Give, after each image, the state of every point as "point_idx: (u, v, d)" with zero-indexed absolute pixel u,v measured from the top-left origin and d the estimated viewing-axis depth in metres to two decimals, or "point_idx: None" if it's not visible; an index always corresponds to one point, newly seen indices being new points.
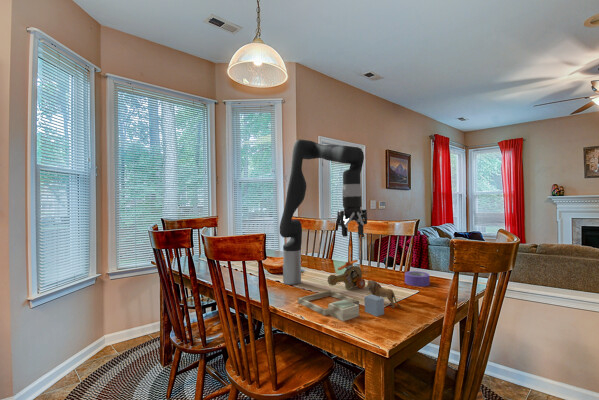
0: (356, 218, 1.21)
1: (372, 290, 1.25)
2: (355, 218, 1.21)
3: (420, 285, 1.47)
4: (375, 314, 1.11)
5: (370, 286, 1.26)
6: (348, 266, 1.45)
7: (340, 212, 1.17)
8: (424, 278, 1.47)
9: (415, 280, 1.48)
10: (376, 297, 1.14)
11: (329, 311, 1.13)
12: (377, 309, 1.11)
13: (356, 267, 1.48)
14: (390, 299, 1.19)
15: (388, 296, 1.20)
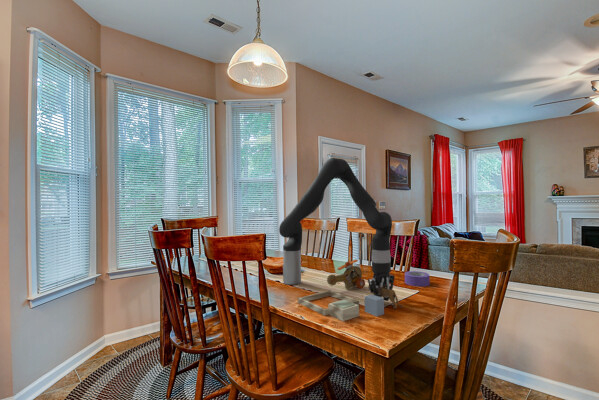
0: (384, 282, 1.23)
1: None
2: (383, 282, 1.23)
3: (420, 285, 1.47)
4: (375, 314, 1.11)
5: None
6: (348, 266, 1.45)
7: (371, 282, 1.20)
8: (424, 278, 1.47)
9: (415, 280, 1.48)
10: (376, 297, 1.14)
11: (329, 311, 1.13)
12: (377, 309, 1.11)
13: (356, 267, 1.48)
14: (392, 299, 1.19)
15: (390, 296, 1.19)
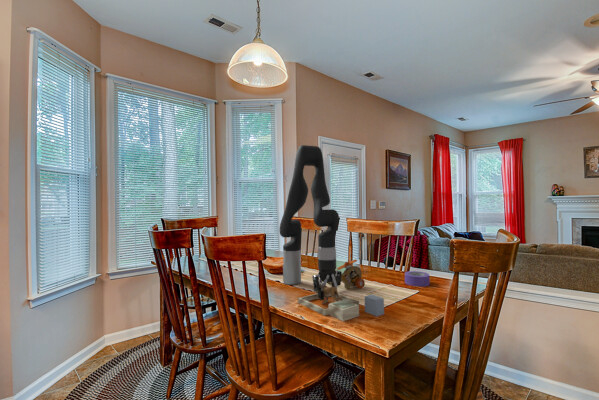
0: (330, 279, 1.24)
1: None
2: (329, 279, 1.24)
3: (420, 285, 1.47)
4: (375, 314, 1.11)
5: None
6: (347, 266, 1.45)
7: (315, 277, 1.20)
8: (424, 278, 1.47)
9: (415, 280, 1.48)
10: (376, 297, 1.14)
11: (329, 311, 1.13)
12: (377, 309, 1.11)
13: (355, 267, 1.48)
14: (333, 296, 1.20)
15: (331, 293, 1.20)
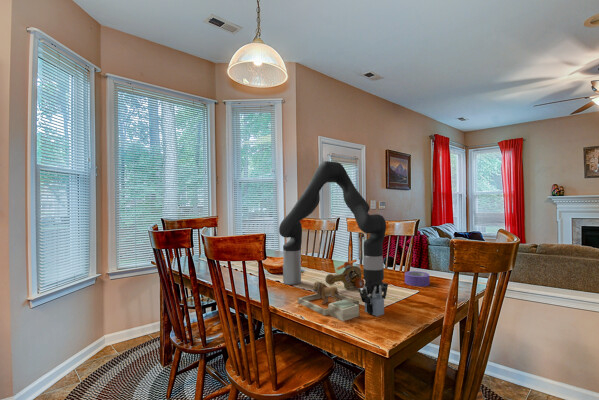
0: (376, 291, 1.13)
1: (318, 291, 1.26)
2: (375, 291, 1.13)
3: (420, 285, 1.47)
4: (375, 314, 1.11)
5: (316, 287, 1.26)
6: (347, 266, 1.45)
7: (362, 291, 1.10)
8: (424, 278, 1.47)
9: (415, 280, 1.48)
10: (376, 297, 1.14)
11: (329, 311, 1.13)
12: (377, 308, 1.11)
13: (355, 267, 1.48)
14: (334, 296, 1.20)
15: (332, 293, 1.20)
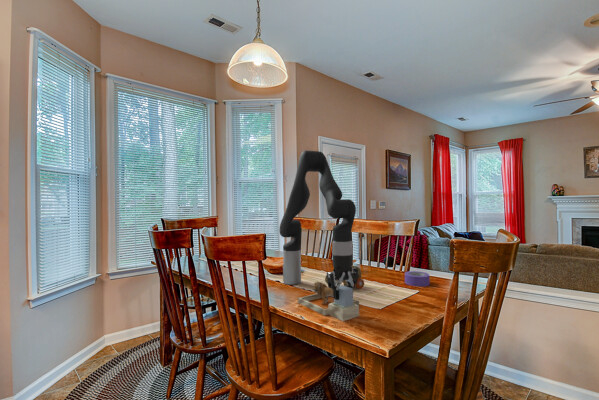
0: (346, 277, 1.12)
1: (318, 291, 1.26)
2: (345, 277, 1.11)
3: (420, 285, 1.47)
4: (343, 305, 1.09)
5: (316, 287, 1.26)
6: None
7: (329, 275, 1.08)
8: (424, 278, 1.47)
9: (415, 280, 1.48)
10: (345, 287, 1.12)
11: (329, 311, 1.13)
12: (345, 299, 1.09)
13: (355, 267, 1.48)
14: None
15: (332, 293, 1.20)
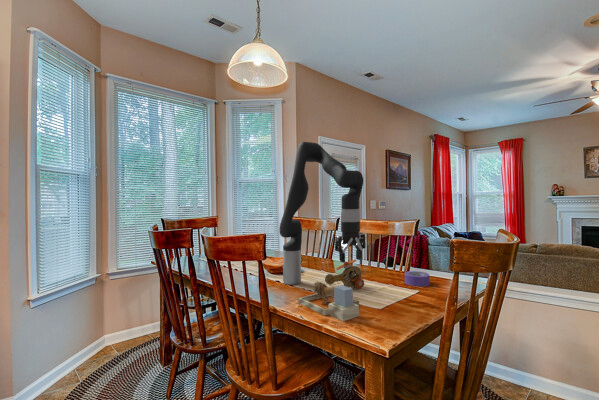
0: (354, 243, 1.20)
1: (319, 291, 1.26)
2: (353, 243, 1.19)
3: (420, 285, 1.47)
4: (343, 305, 1.09)
5: (316, 288, 1.26)
6: (346, 266, 1.45)
7: (338, 238, 1.16)
8: (424, 278, 1.47)
9: (415, 280, 1.48)
10: (345, 287, 1.12)
11: (329, 311, 1.13)
12: (345, 299, 1.09)
13: (355, 267, 1.48)
14: None
15: (332, 293, 1.20)
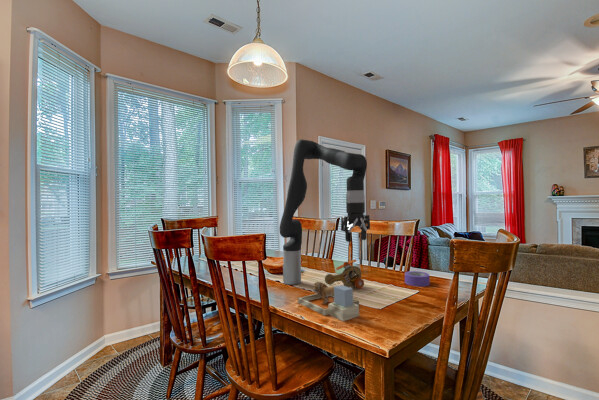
0: (359, 224, 1.24)
1: (319, 291, 1.26)
2: (358, 224, 1.24)
3: (420, 285, 1.47)
4: (343, 305, 1.09)
5: (316, 288, 1.26)
6: (346, 266, 1.45)
7: (344, 218, 1.20)
8: (424, 278, 1.47)
9: (415, 280, 1.48)
10: (345, 287, 1.12)
11: (329, 311, 1.13)
12: (345, 299, 1.09)
13: (355, 267, 1.48)
14: None
15: (333, 293, 1.20)
